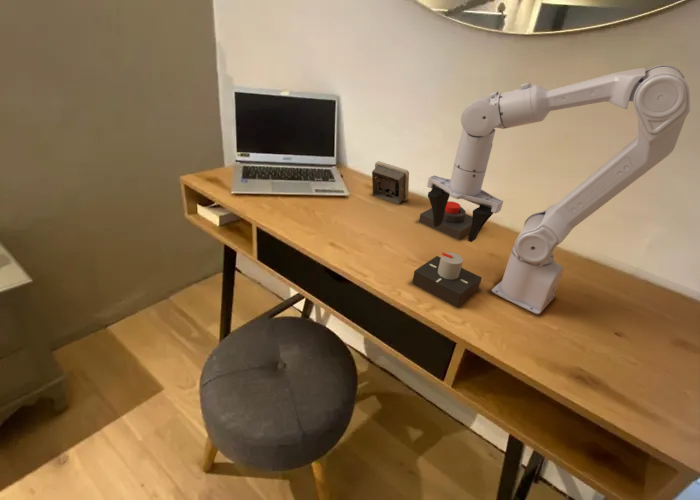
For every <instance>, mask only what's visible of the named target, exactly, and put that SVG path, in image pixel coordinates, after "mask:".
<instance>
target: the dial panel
mask: <svg viewBox="0 0 700 500" xmlns="http://www.w3.org/2000/svg"><path fill="white" fill-rule="evenodd" d="M440 259H441V256H439V255H436V256H434V257H433V258H431V259H430V260H428V261H427V262H425V263H424V264H422V265H421V266H419V267H418V268H416V269H414V272H413V275H412V276H413V277H412V282H411V284H412V285H414V286H416V287H418V288H420V289H422V290H423V291H426V292H427V293H429V294H431V295H433V296H435V297H437V298H439V299H441V300H443V301H444V302H446V303H448V304H449V305H452V306H454V307H456V308H459V307H461V305H463V303H465V302H466V301H467V300H468V299H470V297H472V296H473V295H474V294H475V293H477V292H478V291H479V288H480V286H481V282H482V276H480V275H478V274H476V273H474V272H472V271H469V270H467V269H466V268H464V267H461V270H460V274H459V277H458V278H457V279H454V280H449V279H445V278H443V277H441V276H440V275H439V274H438V268H439V264H440Z"/></svg>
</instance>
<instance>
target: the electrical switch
mask: <svg viewBox="0 0 700 500" xmlns="http://www.w3.org/2000/svg"><path fill="white" fill-rule="evenodd" d="M371 178H372V180H371V182H372V183H371V184H372V196H374V197H375V198H380V199H383V200H386V201H389V202H392V203H394V204H396V205H397V204H398V205H399V204H400V203H402V202H403V201H404V202H407V200H408V199H409V187H410V186H409V185H410V183H409V182H410V171H409V169H405V168H403V167H399V166H396V165H394V164H393V165H392V164H389V163H386V162H383V161H380V160H378V161H376V162H375V163H374V169H372V170H371Z"/></svg>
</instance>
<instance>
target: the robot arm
mask: <svg viewBox="0 0 700 500" xmlns="http://www.w3.org/2000/svg"><path fill="white" fill-rule="evenodd" d="M531 84H532V83H531V81H530V82H526V83H522V84H521V85H520V88H517V89H513V90H510V91H509V90H508V91H505V92H501V93H499V91H498V90H497V91H492V92H491V93H490V95H484V96H480V97H478V98H477V99H474V100H473V101H472V102H470V103H468V104H467V105H466V106H465V108H464V109H463V111H462V113H461V116H460V124H461V126H462V130H461V134H460V137H459V140H458V145H457V148H456V149H457V150H456V154H455V158H454V163H453V168H452V171H451V176H450V179H449V178H445V177H441V176H438V175H431V176H430V177H428V179H427V184H426V187H427V188H429V189H431V190H429V191H428V192H427V198H428V200H429V203H430V206H431V208H432V211H433V222H434V226H435V227H437V226H439V225H441V224H442V221H443V218H444V213H445V208H446V205H447V202H448V201H449V199H450V198H453V199H455V200H464V201H467V202H470V203H472V204H475V205H477V206H478V207H476V208H474V209H473V210H472V226H471V230H470V233H469V234H468V238H467V242H469V243H473V242H474V241H475V240H477V237H478V235H479V234H480V232H481V230H482V228H483V227H484V225H485V224H486V222H487V221H488V220H489V219H490V218H491V217H492V216H493V215H494V214H497V213H499V212H500V211H501V210H502V207H503V204H504V200H502V199H500V198H497V197H496V196H493V195H492V194H490V193H488V192H487V191H485V190H483V188H482V187H483V183H484V179H485V176H486V172H487V168H488V164H489V160H490V156H491V153H492V149H493V141H494V137H495V133H496V129H501V130H506V129H509V128H515V127H520V126H525V125H530V124H535V123H539V122H543V121H544V120H545V119H546V117H548V115H549V114H550V113H551V112H552V111H558V110H564V109H570V108H576V107H582V106H586V105H593V104H598V103H606V102H607V103H609V104H613V105H614V106H617V107H619V108H622V109H624V110H627V109H628V107H629V103H630V102H633V107H634V110H635V114H636V116H637V119H638V123H637V135H636V137H635V138H634V139H633V140H632V141H630V142H629V143H628V144H627V145H626V146H624V147H623V148H621V150H619V151H618V152H617V153H616V154H614V155H613V156H612V157H611V158H610V159H609V160H608V161H606V162H605V163H604V164H602V165H601V166H600V167H599V168H598V169H597V170H595V172H593V173H592V174H591V175H589V176H588V177H587V178H585V180H584V181H582V182H581V183H579V184H578V185H577V186H576V187H575V188H574V189H572V190H571V191H570V192H568V194H566V195H565V196H564V197H563V198H562V199H560V200H559V201H558V202H556V203H554V204H552V205H549V206H548V207H547V208H546V209H544V210H542V211H539V212H535V213H532V214H531V215H529V216H528V217H527V218H526V219H525V221H524V224H523V227H522V229H521V230H520V233H519V234H518V236H517V237H516V239H515V241H514V244H513V245H512V247H511V251H510V254H509V257H508V260H507V263H506V267H505V270H504V274H503V277H502V279H501V281H500V282H498V283H497V284H496V285H495V286H494V287H492V288H491V290H490V292H491V293H492V294H494V295H496V296H498V297H499V298H502V299H503V300H506V301H508V302H510V303H512V304H514V305H517V306H519V307H521V308H523V309H524V310H526V311H529V312H531V313H533V314H535V315H540V314H541V313H542V312H543V311H544V309H545V308H547V307H548V305H549V304H550V303H551V302H552V301H553V300H554V298H555V294H556V291H557V289H558V287H559V283H560V281H561V279H562V276H563V274H564V270H565V268H564V266H563V265H561V264H560V263H558V261H556V260H555V259H554V257H555V256H554V254H553V253H554V251H555V248H556V247H557V246H559V245H560V244H562V243H563V241H564V240H565V239H566V238H567V237H568V235H569V234H570V233H571V232H572V230H573V229H574V228H575V227H577V226H578V225H579V224H580V223H582V222H583V221H584V220H586V219H588V217H590V216H591V215H593V214H594V213H595V212H597V211H598V210H600V208H602V207H603V206H605V204H607V203H608V202H610V201H611V200H612V199H613V198H615V197H616V196H617V195H619V194H620V193H621V192H622V191H624V190H625V189H627V188H628V187H629V186H630V185H631V184H633V183H634V182H636V181H637V180H638V179H640V178H641V177H643V176H644V175H645V174H646V173H648V172H649V171H650V170H652V169H653V168H654V167H656V166H657V165H659V163H661V162H662V161H664V160H665V159H666V158H667V157H668V156H670V155H671V153H673V151H674V150H675V147H676V145H677V142H678V139H679V137H680V134H681V132H682V129H683V127H684V124H685V121H686V119H687V117H688V115H689V113H690V112H691V98H690V97H691V96H690V87H689V84H688V82H687V81H686V79H685V76H684V74H683V72H682V71H681V70H680V69H678V68H677V67H675V66H673V65H670V64H659V65H655V66H653V67H650V68H648V69H647V70H646V67H639V68H632V69H627V70H622V71H616V72H612V73H609V74H605V75H601V76H598V77H594V78H590V79H586V80H582V81H579V82H575V83H570V84H568V85H563V86H560V87H556V88H553V89H547V88H545V87H543V86H542V85H540V84H533V85H531Z"/></svg>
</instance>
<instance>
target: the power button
mask: <svg viewBox="0 0 700 500" xmlns="http://www.w3.org/2000/svg"><path fill="white" fill-rule="evenodd" d="M460 207H462V206H461V204H460V203H458V202H455V201H451V200H448V202H447V205H446V208H445V212H447V213H450V214H459V211H460Z"/></svg>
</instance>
